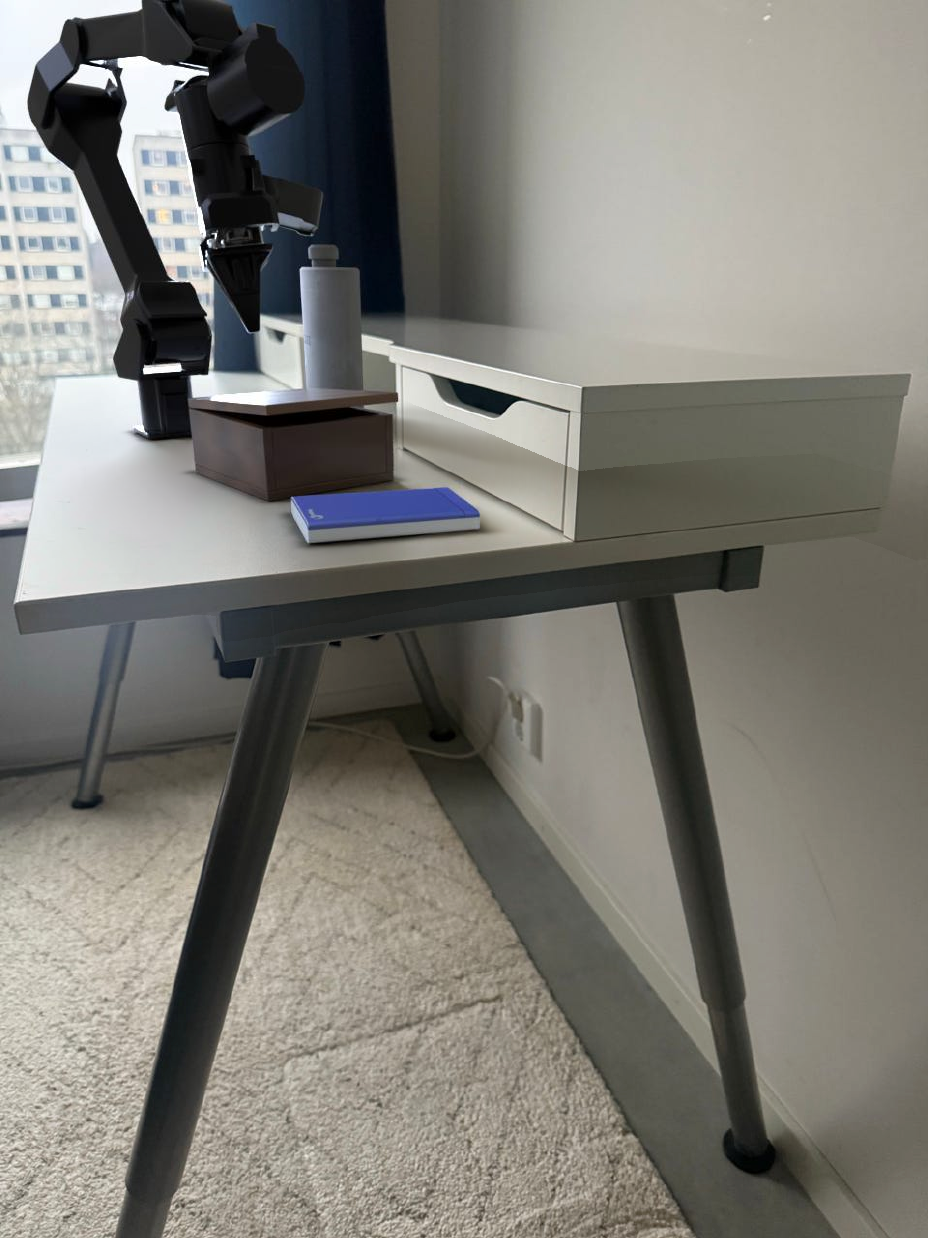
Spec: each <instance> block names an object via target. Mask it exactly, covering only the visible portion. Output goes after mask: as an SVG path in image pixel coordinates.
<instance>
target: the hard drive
mask: <svg viewBox="0 0 928 1238" xmlns="http://www.w3.org/2000/svg"><path fill="white" fill-rule="evenodd" d="M290 509H291V510H290V511H291V515H292V516H291V517H292V518H293V520H294V521H295V523H296V525H297V526H298V528H299V530H300V532H301V535H302V536H303V538H304V540H305V541H306V543H307V544H318V543H328V542H340V541H353V540H354V541H355V540H364V539H375V538H376V539H377V538H388V537H400V536H410V535H423V534H435V533H436V534H437V533H448V532H460V531H473V530H479V529H480V528H481V513H480V511H479V509H478V508H476V507H475V506H473V505H472V504H471V503H469V502H468V501H467V500H466V499H464V498H463V497H462V496H460V495H459V494H458V493H456V492H455V491H454V490H452V489H451V488H450V487H448V486H444V487H442V486H441V487H433V488H415V489H413V488H412V489H399V490H398V489H396V490H381V491H364V492H347V493H346V492H345V493H331V494H330V493H329V494H316V495H315V494H311V495H303V496H297V497H291V498H290Z"/></svg>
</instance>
